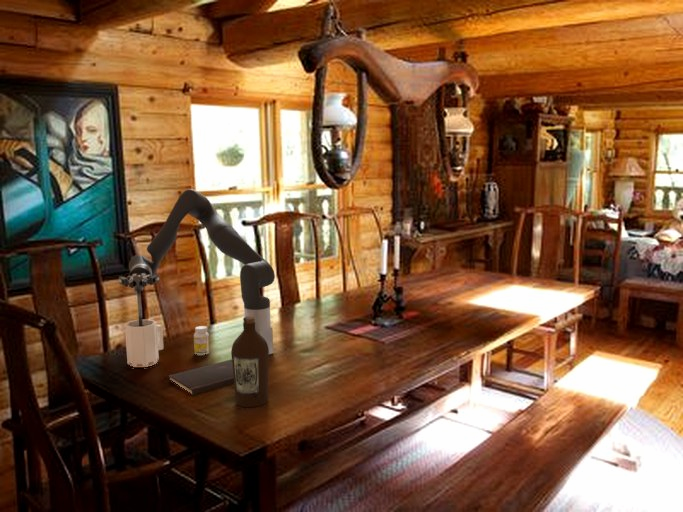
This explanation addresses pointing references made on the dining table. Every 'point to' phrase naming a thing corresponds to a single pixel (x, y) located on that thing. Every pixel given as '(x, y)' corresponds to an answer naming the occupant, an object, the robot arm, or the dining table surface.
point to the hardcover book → (205, 377)
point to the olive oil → (250, 366)
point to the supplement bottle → (201, 341)
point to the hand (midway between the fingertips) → (137, 284)
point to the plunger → (138, 296)
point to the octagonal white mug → (143, 343)
